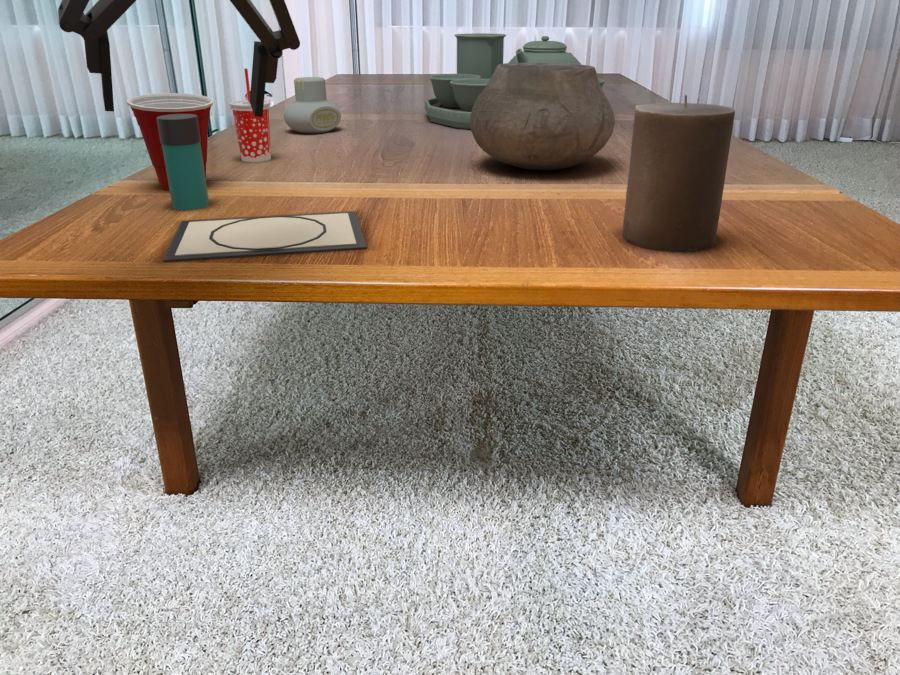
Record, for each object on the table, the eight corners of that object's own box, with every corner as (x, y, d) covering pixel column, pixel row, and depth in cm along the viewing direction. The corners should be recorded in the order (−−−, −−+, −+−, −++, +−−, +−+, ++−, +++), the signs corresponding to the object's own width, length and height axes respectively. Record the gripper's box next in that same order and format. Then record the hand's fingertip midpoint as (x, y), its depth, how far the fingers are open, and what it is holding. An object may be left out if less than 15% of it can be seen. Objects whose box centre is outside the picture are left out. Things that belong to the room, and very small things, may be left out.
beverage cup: (247, 156, 119) (236, 66, 113) (281, 157, 118) (272, 67, 112) (230, 163, 114) (217, 70, 108) (266, 165, 113) (256, 70, 107)
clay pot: (495, 150, 123) (497, 57, 117) (620, 159, 116) (630, 60, 110) (449, 177, 105) (449, 68, 98) (595, 189, 98) (605, 73, 92)
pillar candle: (710, 259, 71) (736, 102, 65) (612, 247, 75) (627, 97, 68) (718, 232, 80) (741, 90, 73) (629, 223, 83) (644, 87, 77)
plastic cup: (167, 201, 92) (150, 104, 87) (128, 188, 99) (111, 97, 94) (240, 187, 100) (229, 96, 95) (200, 175, 106) (187, 90, 101)
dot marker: (169, 213, 88) (153, 120, 83) (174, 203, 92) (159, 114, 87) (208, 211, 88) (194, 118, 84) (212, 201, 92) (199, 113, 88)
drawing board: (163, 264, 70) (162, 257, 70) (182, 225, 83) (181, 219, 83) (367, 251, 74) (366, 244, 74) (355, 215, 87) (355, 209, 86)
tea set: (394, 127, 146) (391, 39, 139) (465, 103, 180) (466, 31, 172) (588, 140, 132) (595, 43, 125) (625, 111, 166) (633, 33, 159)
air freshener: (324, 126, 147) (320, 75, 143) (349, 131, 142) (345, 77, 138) (278, 133, 140) (272, 79, 136) (302, 138, 135) (297, 82, 131)
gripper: (-3, -157, 48) (40, 124, 62) (355, -95, 58) (319, 131, 73) (-2, -192, 52) (37, 78, 67) (331, -128, 63) (302, 92, 78)
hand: (185, 106), depth 70 cm, fingers open, 13 cm apart
